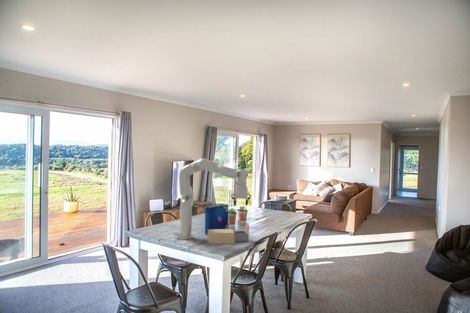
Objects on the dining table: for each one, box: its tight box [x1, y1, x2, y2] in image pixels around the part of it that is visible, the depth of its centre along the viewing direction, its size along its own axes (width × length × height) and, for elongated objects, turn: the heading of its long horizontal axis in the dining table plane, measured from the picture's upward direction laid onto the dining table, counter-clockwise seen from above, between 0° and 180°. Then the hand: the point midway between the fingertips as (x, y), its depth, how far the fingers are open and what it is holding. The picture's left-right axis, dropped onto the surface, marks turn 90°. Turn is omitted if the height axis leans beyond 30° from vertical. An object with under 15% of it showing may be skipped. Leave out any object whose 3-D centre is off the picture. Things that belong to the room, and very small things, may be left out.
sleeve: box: [207, 228, 235, 245], centre depth 250 cm, size 20×12×8 cm, turn 103°
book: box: [204, 203, 229, 236], centre depth 273 cm, size 22×7×25 cm, turn 126°
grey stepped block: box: [233, 222, 250, 242], centre depth 253 cm, size 20×10×13 cm, turn 103°
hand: (240, 205), depth 258 cm, fingers open, 9 cm apart
